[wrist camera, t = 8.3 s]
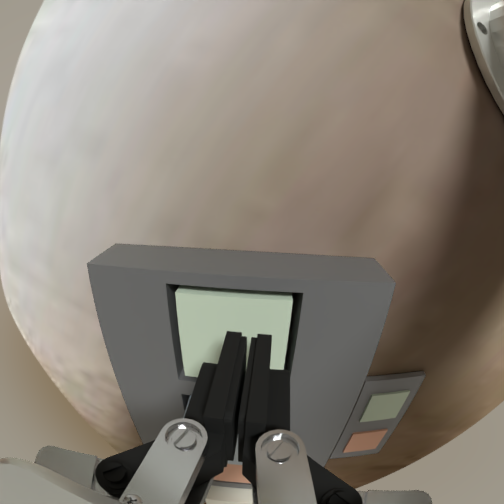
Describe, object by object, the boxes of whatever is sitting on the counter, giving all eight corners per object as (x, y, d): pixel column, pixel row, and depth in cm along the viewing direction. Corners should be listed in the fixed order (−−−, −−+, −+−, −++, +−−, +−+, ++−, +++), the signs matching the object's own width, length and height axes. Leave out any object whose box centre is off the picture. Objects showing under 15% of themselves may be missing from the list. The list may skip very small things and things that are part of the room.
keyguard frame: (374, 258, 14) (395, 282, 11) (298, 486, 23) (299, 507, 21) (115, 243, 15) (86, 263, 12) (176, 476, 24) (171, 495, 21)
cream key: (261, 480, 20) (260, 503, 17) (258, 496, 22) (257, 515, 19) (208, 476, 20) (204, 498, 18) (212, 492, 22) (209, 511, 19)
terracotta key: (268, 433, 19) (267, 461, 16) (264, 460, 21) (263, 483, 18) (205, 428, 19) (199, 454, 17) (209, 455, 21) (205, 478, 18)
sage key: (289, 274, 14) (292, 300, 12) (280, 351, 16) (281, 383, 13) (190, 268, 14) (175, 292, 12) (195, 345, 16) (185, 375, 14)
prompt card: (423, 370, 17) (426, 376, 16) (377, 449, 20) (378, 454, 20) (363, 376, 17) (366, 383, 16) (328, 454, 20) (329, 460, 20)
